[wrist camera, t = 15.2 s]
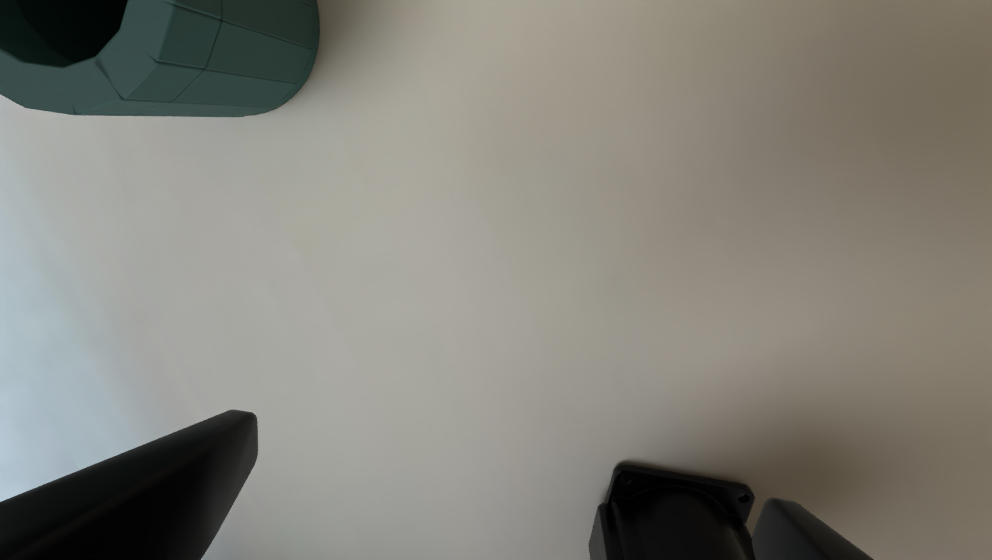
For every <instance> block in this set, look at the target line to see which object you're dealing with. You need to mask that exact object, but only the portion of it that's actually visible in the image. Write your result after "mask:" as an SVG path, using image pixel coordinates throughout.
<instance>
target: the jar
mask: <svg viewBox="0 0 992 560" xmlns="http://www.w3.org/2000/svg"><path fill="white" fill-rule="evenodd" d="M319 32H320V31H319V14H318V8H317V3H316V0H0V94H1V95H3V96H5V97H7V98H8V99H10V100H12V101H14V102H15V103H17V104H19V105H21V106H23V107H25V108H30V109H37V110H43V111H50V112H57V113H64V114H70V115H104V116H192V117H244V116H247V115H257V114H261V113H265V112H268V111H271V110H273V109H275V108H277V107H279V106H281V105H282V104H284V103H285V102H287V101H288V100H289V99H290V98H292V97H293V96H294V95H295V94H296V93H297V91H298V90H299V89H300V88H301V87H302V85H303V84H304V82H305V81H306V79H307V77H308V75H309V73H310V71H311V69H312V67H313V64H314V61H315V58H316V54H317V49H318V44H319Z"/></svg>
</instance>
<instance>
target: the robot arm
mask: <svg viewBox="0 0 992 560" xmlns="http://www.w3.org/2000/svg"><path fill="white" fill-rule="evenodd" d="M257 455H258V427H257V417H256V415H255V414H254V413H252V412H246V411H240V410H229V411H226V412H224V413H221V414H219V415H216V416H214V417H211V418H209V419H206V420H204V421H202V422H199V423H197V424H194V425H192V426H189V427H187V428H184V429H182V430H179V431H177V432H174V433H172V434H169V435H167V436H164V437H162V438H159V439H157V440H154V441H152V442H149V443H147V444H144V445H142V446H139V447H137V448H134V449H132V450H129V451H127V452H124V453H122V454H119V455H117V456H114V457H112V458H109V459H107V460H104V461H102V462H99V463H97V464H94V465H92V466H89V467H87V468H84V469H82V470H79V471H77V472H74V473H72V474H69V475H67V476H64V477H62V478H59V479H57V480H54V481H52V482H49V483H47V484H44V485H42V486H39V487H37V488H34V489H32V490H29V491H27V492H24V493H22V494H19V495H17V496H14V497H12V498H9V499H7V500H4V501H2V502H0V560H201V558H202V557H203V555H204V554H205V552H206V551H207V549H208V548H209V546H210V544H211V543H212V541H213V539H214V537H215V536H216V534H217V532H218V530H219V529H220V527H221V525H222V523H223V521H224V520H225V518H226V516H227V514H228V512H229V510H230V509H231V507H232V505H233V503H234V501H235V500H236V498H237V496H238V494H239V492H240V491H241V489H242V487H243V485H244V483H245V481H246V480H247V478H248V476H249V474H250V472H251V471H252V469H253V467H254V465H255V462H256V459H257ZM622 475H628V477H626V478H622V477H621V476H622ZM741 494H745V495H744V496H742V497H739V495H741ZM754 498H755V497H754V494H753V492H752V491H751V489H750V487H748V486H747V485H745V484H741V483H735V482H728V481H722V480H716V479H710V478H704V477H698V476H692V475H686V474H680V473H674V472H668V471H662V470H655V469H649V468H643V467H637V466H631V465H619V466H617V467H616V468H615V469H614V471H613V474H612V478H611V482H610V486H609V490H608V494H607V498H606V502H605V503H601V504H600V505H599V506H598V509H597V513H596V517H595V521H594V525H593V529H592V533H591V537H590V541H589V552H590V560H874V559H872V558H871V557H870V556H868V555H867V554H866V553H864V552H863V551H861V550H860V549H859V548H857V547H856V546H855V545H853V544H852V543H851V542H849V541H848V540H847V539H845V538H844V537H843V536H841V535H840V534H838V533H837V532H836V531H834V530H833V529H832V528H830V527H829V526H828V525H826V524H825V523H824V522H822V521H821V520H820V519H818V518H817V517H816V516H814V515H813V514H811V513H810V512H809V511H807V510H806V509H805V508H803V507H802V506H801V505H799V504H798V503H796V502H794V501H791V500H785V499H779V498H769V499H767V501H766V502H765V503H764V506H763V508H762V511H761V513H760V516H759V519H758V521H757V524H756V526H755V529H754V532H753V536H752V537H751V535H750V533H749V531H748V529H747V527H746V525H745V524H746V521H747V518H748V516H749V513H750V510H751V508H752V505H753V502H754Z"/></svg>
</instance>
